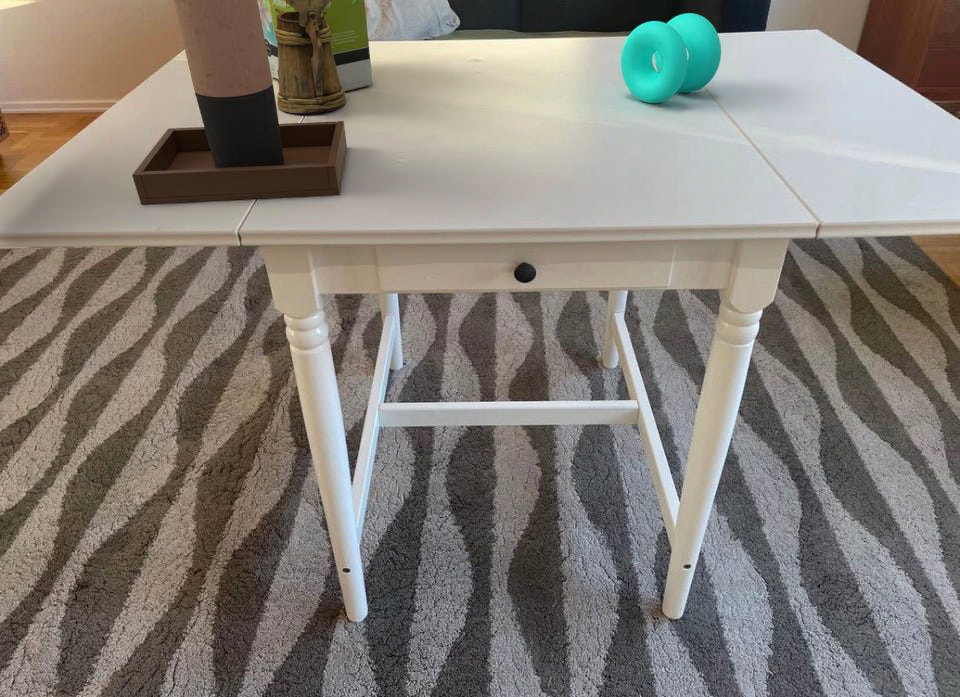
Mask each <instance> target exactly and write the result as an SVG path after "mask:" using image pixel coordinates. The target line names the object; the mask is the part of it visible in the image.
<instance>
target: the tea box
mask: <svg viewBox="0 0 960 697" xmlns="http://www.w3.org/2000/svg"><path fill="white" fill-rule="evenodd" d="M258 6H259V11H260V17H261V22H262V27H263V33H264V38H265V43H266V49H267V54H268V59H269V65H270V70H271V76H272V78H274V79H277V80H279V74H278V42H277V40H276V39H275V27H277V15H278V14H280V13H282V12H294V11H296V10H295V9H293V8H292V7H291V6H289V5H288V4H287V3H286V0H258ZM321 13H323V14H324V17H325V21H326V24H327V25H328V26H329V28H330V31H331V34H332V38H333V39H332V40H331V41H330V43H331V48H332V53H333V57H334V61H335V65H336V69H337V73H338V77H339V81H340V85H341V86H342V87H343V89H344V92H346V91H347V92H348V91H352V90H356V89H360V88H364V87H369V86H370V85H371V86H372V85H373V74H372V73H373V71H372V70H373V69H372V62H371V54H370V42H369V34H368V22H367V13H366V2H365V0H331V1H330V2H329V4H328V5H327V6H326V7H325V8H324V9H323V11H322V12H321Z"/></svg>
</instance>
